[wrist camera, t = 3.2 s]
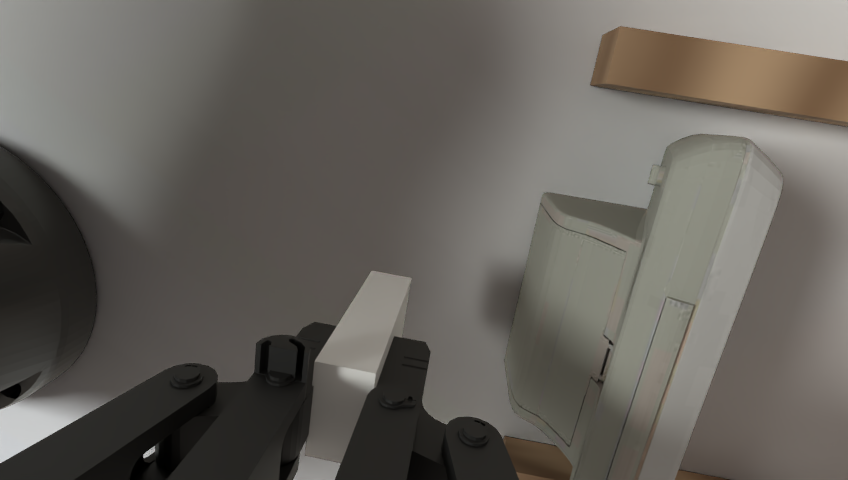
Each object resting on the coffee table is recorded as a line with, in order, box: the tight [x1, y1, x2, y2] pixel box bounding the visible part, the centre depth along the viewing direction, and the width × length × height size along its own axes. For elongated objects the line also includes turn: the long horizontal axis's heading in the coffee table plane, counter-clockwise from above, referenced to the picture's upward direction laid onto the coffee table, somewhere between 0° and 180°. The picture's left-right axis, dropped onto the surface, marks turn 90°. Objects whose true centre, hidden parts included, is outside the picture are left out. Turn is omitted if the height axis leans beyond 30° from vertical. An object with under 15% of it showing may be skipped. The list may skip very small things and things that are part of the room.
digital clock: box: [504, 134, 783, 480], centre depth 18 cm, size 16×9×11 cm, turn 160°
